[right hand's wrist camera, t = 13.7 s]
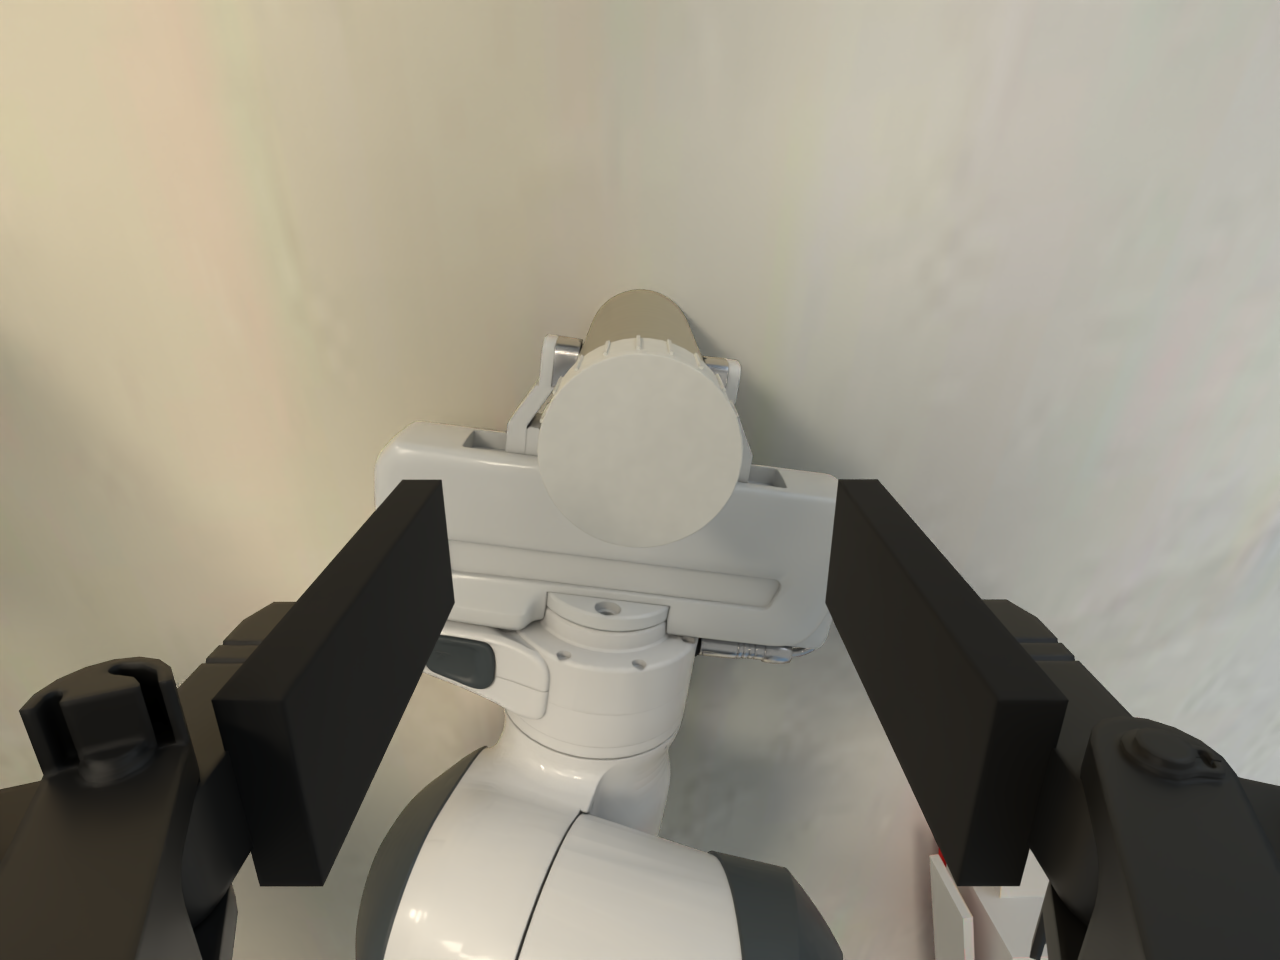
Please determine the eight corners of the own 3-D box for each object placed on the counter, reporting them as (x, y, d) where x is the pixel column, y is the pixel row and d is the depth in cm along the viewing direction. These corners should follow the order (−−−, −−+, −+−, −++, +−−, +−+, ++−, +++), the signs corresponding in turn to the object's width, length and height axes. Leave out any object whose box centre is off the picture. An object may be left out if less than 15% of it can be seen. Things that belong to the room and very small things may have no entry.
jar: (682, 280, 34) (718, 344, 18) (698, 382, 36) (742, 518, 20) (579, 299, 34) (529, 377, 19) (599, 399, 36) (569, 546, 20)
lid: (720, 319, 20) (730, 333, 18) (744, 500, 22) (756, 532, 20) (527, 353, 20) (513, 372, 18) (568, 528, 22) (560, 564, 20)
